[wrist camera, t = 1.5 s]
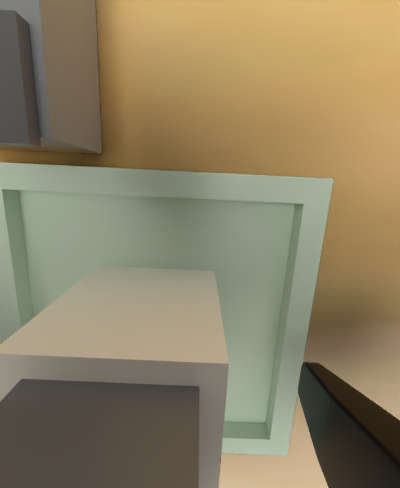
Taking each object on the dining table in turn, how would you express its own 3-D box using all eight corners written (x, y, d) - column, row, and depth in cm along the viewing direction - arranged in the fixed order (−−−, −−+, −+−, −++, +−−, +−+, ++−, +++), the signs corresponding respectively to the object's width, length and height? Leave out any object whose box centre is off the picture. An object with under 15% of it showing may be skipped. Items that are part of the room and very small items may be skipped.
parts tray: (315, 179, 9) (334, 178, 8) (278, 427, 11) (287, 455, 10) (2, 164, 9) (-29, 160, 8) (36, 417, 11) (17, 444, 10)
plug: (214, 270, 9) (245, 462, 3) (208, 369, 10) (220, 672, 4) (98, 265, 9) (-130, 448, 3) (104, 364, 10) (-56, 663, 4)
